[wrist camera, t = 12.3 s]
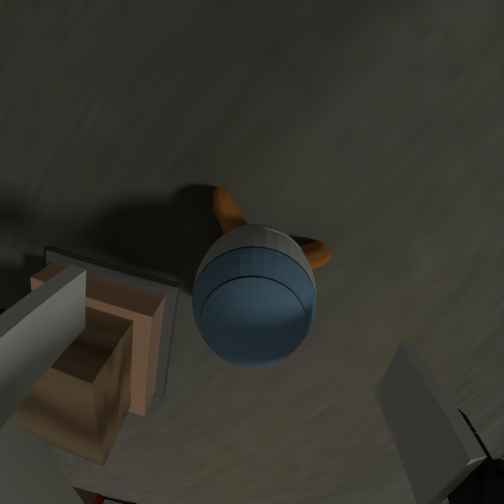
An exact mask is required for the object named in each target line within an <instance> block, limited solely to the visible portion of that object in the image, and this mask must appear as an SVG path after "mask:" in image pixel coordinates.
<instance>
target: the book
mask: <svg viewBox="0 0 504 504" xmlns="http://www.w3.org/2000/svg"><path fill="white" fill-rule="evenodd" d="M95 504H123V503H119V502H115V501H111V500H107V499H104V498H103V497H102V496H101V495H100V494H98V496H97V499H96V501H95ZM134 504H136V503H134Z"/></svg>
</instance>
